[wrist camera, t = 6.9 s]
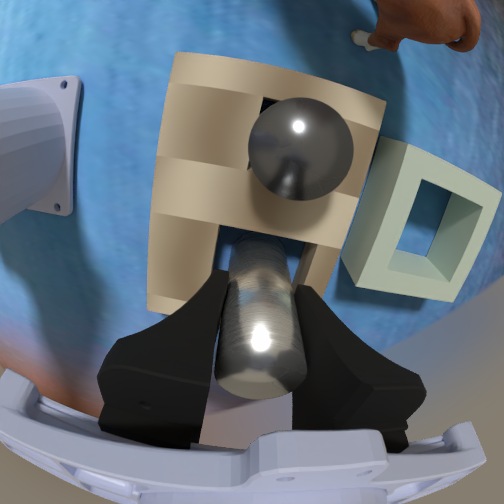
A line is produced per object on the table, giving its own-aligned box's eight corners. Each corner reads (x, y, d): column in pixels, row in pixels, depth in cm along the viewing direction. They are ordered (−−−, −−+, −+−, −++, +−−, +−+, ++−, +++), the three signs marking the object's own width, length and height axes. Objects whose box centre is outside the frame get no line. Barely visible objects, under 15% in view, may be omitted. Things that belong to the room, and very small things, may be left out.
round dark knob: (242, 166, 13) (238, 188, 10) (258, 93, 12) (260, 86, 8) (315, 182, 14) (337, 210, 10) (334, 113, 12) (364, 115, 8)
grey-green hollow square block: (340, 256, 16) (355, 286, 13) (380, 135, 13) (408, 143, 10) (431, 275, 17) (452, 302, 14) (470, 177, 13) (502, 193, 11)
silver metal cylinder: (226, 275, 16) (209, 393, 9) (235, 226, 15) (221, 335, 8) (277, 284, 17) (291, 402, 10) (291, 237, 15) (320, 349, 8)
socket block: (156, 289, 17) (147, 309, 15) (186, 59, 11) (175, 51, 9) (300, 315, 18) (304, 337, 16) (369, 101, 12) (386, 101, 10)
